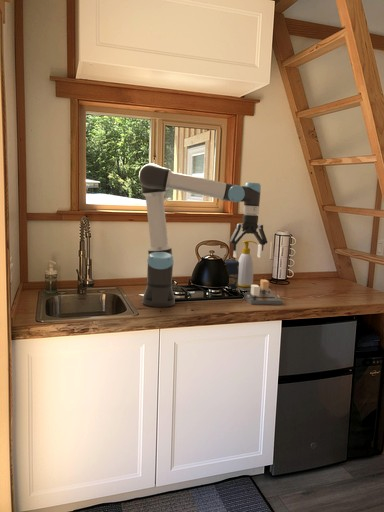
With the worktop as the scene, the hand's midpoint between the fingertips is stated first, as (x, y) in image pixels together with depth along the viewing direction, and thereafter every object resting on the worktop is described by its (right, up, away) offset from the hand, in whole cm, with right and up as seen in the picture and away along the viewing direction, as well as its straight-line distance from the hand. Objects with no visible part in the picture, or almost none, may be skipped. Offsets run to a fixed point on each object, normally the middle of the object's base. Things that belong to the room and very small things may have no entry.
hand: (247, 257), depth 216 cm
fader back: (+11, -18, +16) cm, 26 cm away
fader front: (+4, -20, +2) cm, 20 cm away
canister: (-8, -19, +20) cm, 28 cm away
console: (+7, -21, +9) cm, 24 cm away
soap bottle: (+3, -17, +38) cm, 41 cm away
